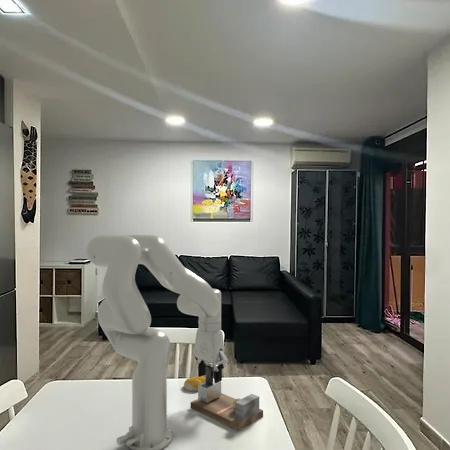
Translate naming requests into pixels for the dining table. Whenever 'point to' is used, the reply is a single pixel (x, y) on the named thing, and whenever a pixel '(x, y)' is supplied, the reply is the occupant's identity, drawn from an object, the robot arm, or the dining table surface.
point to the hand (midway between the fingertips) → (209, 378)
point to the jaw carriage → (209, 386)
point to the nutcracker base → (231, 410)
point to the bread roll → (193, 383)
